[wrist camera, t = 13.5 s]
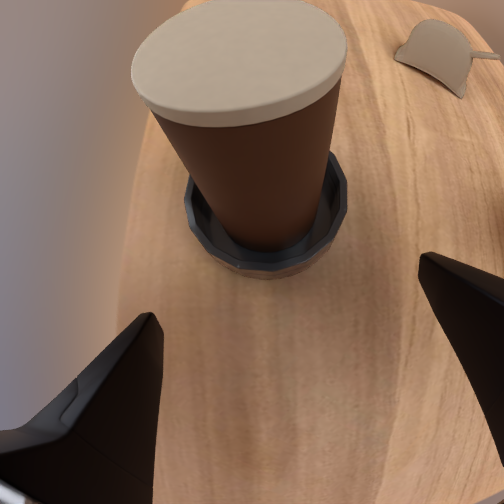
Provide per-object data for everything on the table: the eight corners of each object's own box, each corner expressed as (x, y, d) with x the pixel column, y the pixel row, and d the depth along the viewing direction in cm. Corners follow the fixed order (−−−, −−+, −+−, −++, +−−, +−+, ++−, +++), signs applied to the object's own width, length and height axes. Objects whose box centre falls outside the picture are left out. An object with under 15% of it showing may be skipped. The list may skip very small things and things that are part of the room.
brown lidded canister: (338, 201, 16) (386, 35, 6) (270, 275, 16) (230, 158, 5) (264, 146, 18) (236, -17, 7) (198, 209, 17) (98, 68, 6)
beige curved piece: (405, 42, 20) (416, 0, 15) (480, 88, 18) (502, 51, 13) (392, 59, 19) (404, 12, 14) (475, 110, 17) (500, 69, 12)
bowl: (360, 253, 16) (372, 240, 13) (216, 298, 16) (204, 292, 14) (310, 135, 18) (312, 110, 16) (187, 172, 18) (174, 151, 16)
